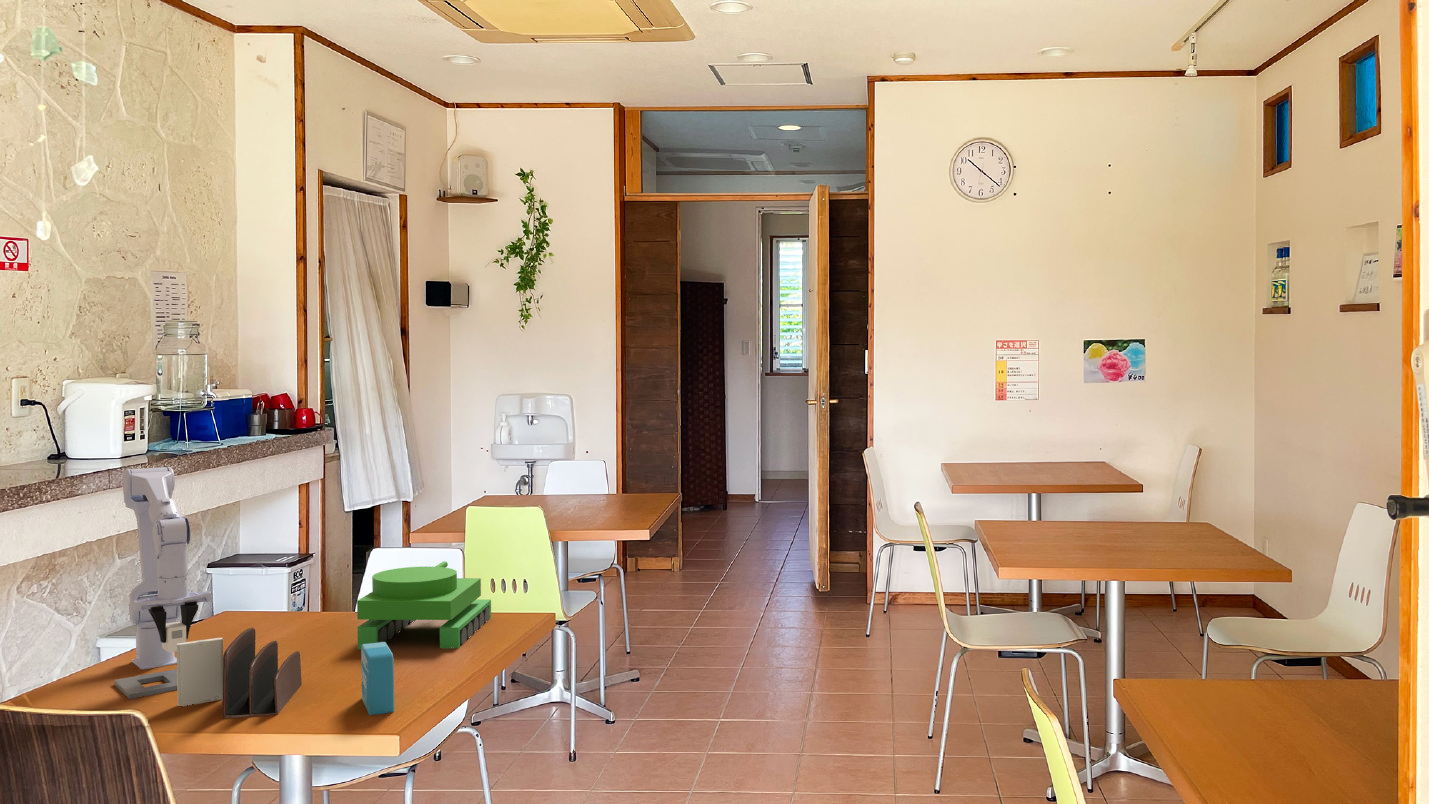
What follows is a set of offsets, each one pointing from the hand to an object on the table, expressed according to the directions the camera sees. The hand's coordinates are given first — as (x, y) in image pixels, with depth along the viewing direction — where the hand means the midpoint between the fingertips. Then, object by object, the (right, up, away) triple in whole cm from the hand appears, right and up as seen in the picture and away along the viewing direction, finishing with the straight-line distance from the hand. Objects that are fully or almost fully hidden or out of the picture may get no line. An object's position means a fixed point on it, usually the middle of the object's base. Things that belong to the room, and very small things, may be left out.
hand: (174, 640), depth 223 cm
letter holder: (+25, -10, -14) cm, 30 cm away
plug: (-1, -2, +1) cm, 2 cm away
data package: (+49, -10, -19) cm, 53 cm away
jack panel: (+2, -9, +2) cm, 9 cm away
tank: (+44, -8, +39) cm, 59 cm away
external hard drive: (+12, -10, -14) cm, 21 cm away
